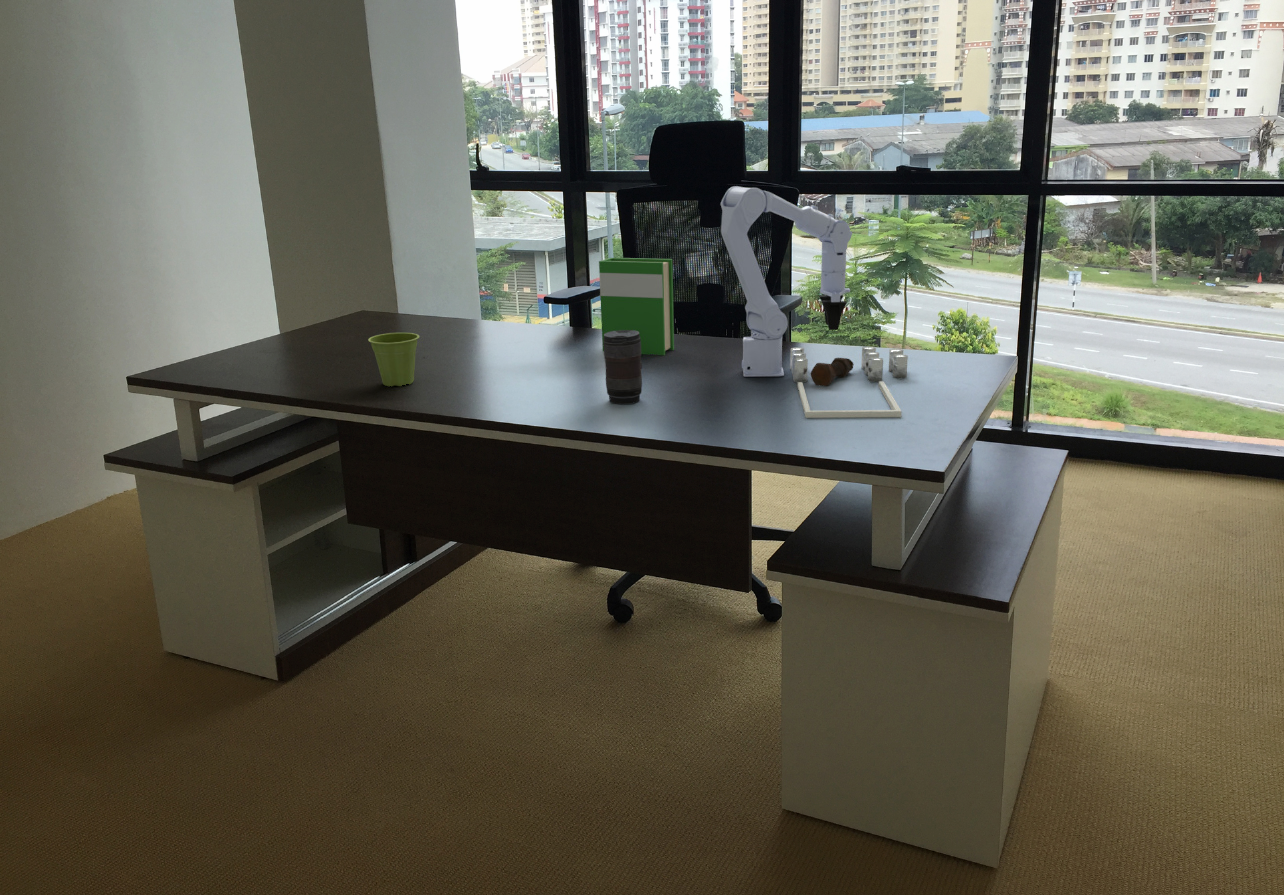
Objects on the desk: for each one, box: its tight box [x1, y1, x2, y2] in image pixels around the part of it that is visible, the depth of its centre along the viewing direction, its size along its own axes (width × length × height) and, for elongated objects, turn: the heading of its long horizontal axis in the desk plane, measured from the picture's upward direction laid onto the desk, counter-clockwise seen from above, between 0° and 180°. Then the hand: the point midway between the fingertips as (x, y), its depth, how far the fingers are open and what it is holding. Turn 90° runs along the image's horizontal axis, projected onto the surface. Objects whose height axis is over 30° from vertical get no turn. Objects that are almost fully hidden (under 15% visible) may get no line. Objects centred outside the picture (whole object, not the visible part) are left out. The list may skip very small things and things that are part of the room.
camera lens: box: [603, 330, 643, 405], centre depth 222 cm, size 8×8×15 cm
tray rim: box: [797, 380, 902, 419], centre depth 218 cm, size 19×25×1 cm
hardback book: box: [598, 257, 675, 356], centre depth 270 cm, size 18×7×24 cm, turn 67°
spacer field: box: [789, 346, 909, 384], centre depth 240 cm, size 26×15×5 cm, turn 85°
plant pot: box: [368, 332, 420, 387], centre depth 244 cm, size 12×12×11 cm
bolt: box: [810, 357, 854, 387], centre depth 237 cm, size 6×5×15 cm
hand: (831, 327), depth 248 cm, fingers open, 6 cm apart
